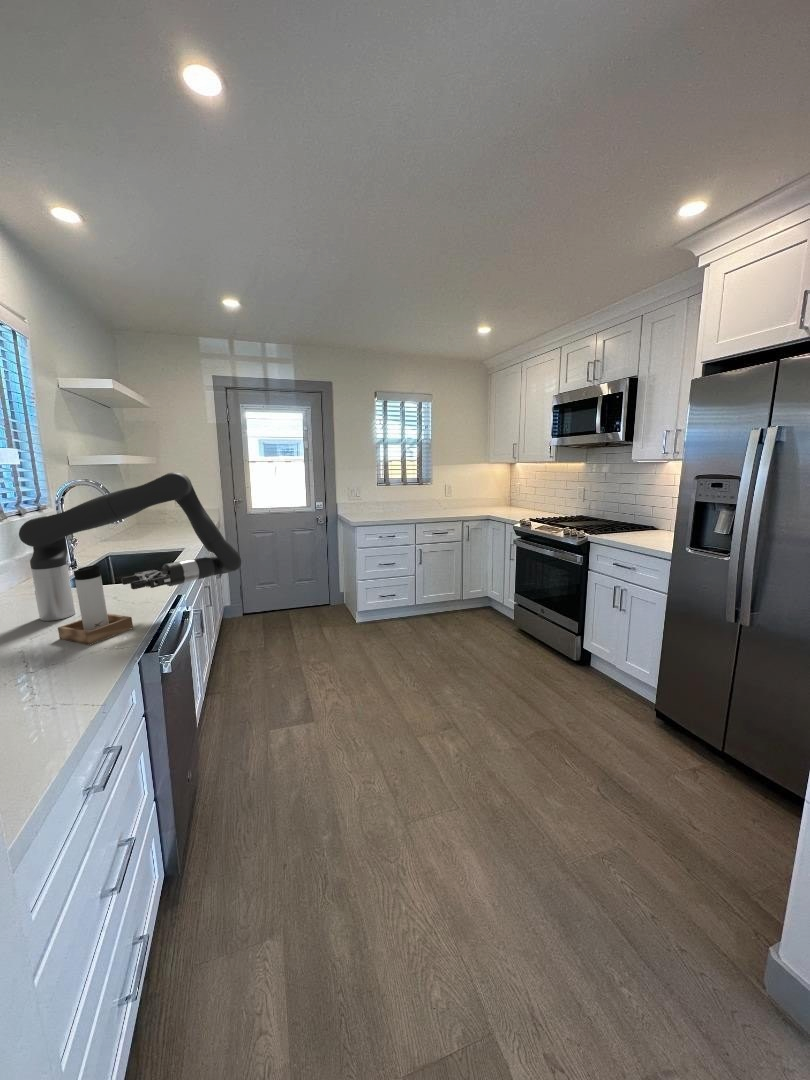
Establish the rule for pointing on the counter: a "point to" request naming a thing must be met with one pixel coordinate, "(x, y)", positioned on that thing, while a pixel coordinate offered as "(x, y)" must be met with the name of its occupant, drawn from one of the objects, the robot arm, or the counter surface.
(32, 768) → the counter surface
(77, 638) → the walnut caddy
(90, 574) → the travel mug
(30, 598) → the counter surface
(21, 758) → the counter surface
